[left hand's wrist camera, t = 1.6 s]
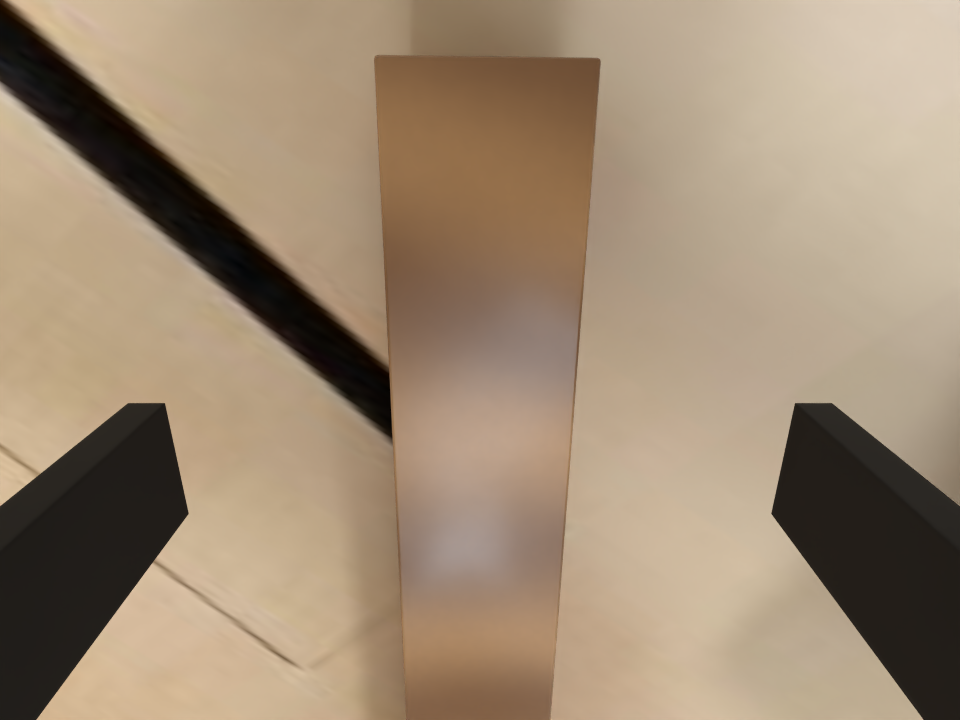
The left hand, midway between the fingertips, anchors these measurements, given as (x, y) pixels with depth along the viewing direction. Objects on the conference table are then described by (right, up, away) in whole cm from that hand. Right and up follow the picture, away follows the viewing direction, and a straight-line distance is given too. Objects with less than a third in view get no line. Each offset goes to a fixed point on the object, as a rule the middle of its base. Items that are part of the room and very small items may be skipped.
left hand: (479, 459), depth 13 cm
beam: (0, -16, +20) cm, 25 cm away
